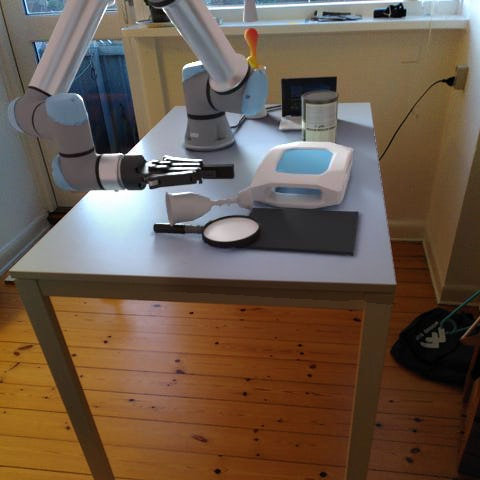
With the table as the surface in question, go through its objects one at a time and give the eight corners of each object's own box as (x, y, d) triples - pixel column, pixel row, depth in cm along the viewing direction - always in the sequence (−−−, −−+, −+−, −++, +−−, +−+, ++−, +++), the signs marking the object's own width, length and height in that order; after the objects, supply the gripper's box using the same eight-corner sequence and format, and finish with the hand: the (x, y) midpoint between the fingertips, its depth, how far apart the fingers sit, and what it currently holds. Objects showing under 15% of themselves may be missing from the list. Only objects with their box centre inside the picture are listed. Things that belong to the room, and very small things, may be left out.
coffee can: (294, 145, 153) (293, 95, 144) (320, 137, 157) (322, 88, 148) (316, 154, 145) (317, 102, 137) (344, 145, 150) (346, 94, 141)
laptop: (278, 131, 164) (277, 87, 156) (281, 119, 174) (280, 78, 166) (335, 130, 161) (337, 85, 154) (335, 118, 171) (337, 75, 163)
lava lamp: (244, 111, 185) (237, -3, 164) (269, 110, 183) (265, -5, 162) (240, 118, 178) (232, 0, 157) (266, 118, 176) (261, -1, 155)
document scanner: (352, 165, 137) (354, 141, 133) (339, 211, 116) (341, 184, 112) (275, 162, 142) (274, 140, 139) (249, 206, 121) (248, 180, 117)
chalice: (245, 176, 113) (164, 185, 108) (255, 191, 108) (171, 202, 104) (244, 205, 118) (166, 215, 113) (253, 221, 113) (173, 232, 109)
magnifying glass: (167, 219, 119) (165, 211, 117) (267, 223, 111) (266, 214, 110) (143, 245, 109) (141, 236, 108) (251, 251, 102) (250, 242, 101)
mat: (253, 210, 119) (252, 207, 119) (358, 214, 114) (358, 211, 113) (234, 248, 106) (234, 245, 105) (353, 255, 100) (353, 252, 100)
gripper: (138, 177, 117) (239, 176, 113) (118, 201, 107) (229, 201, 103) (131, 144, 113) (237, 142, 109) (110, 166, 103) (226, 165, 99)
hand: (233, 171), depth 106 cm, fingers closed
